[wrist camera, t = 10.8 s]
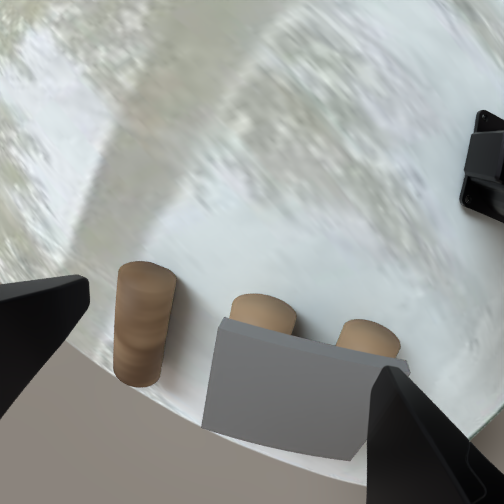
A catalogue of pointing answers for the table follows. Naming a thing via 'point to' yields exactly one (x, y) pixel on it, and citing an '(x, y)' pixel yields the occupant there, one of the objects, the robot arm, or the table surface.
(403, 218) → the table surface
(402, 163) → the table surface
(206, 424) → the slab on rollers
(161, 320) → the roller
